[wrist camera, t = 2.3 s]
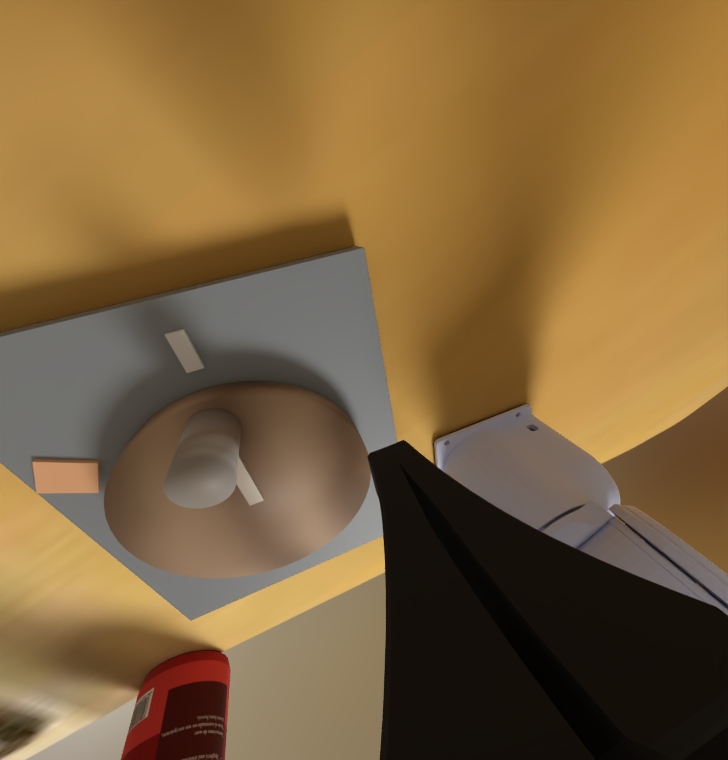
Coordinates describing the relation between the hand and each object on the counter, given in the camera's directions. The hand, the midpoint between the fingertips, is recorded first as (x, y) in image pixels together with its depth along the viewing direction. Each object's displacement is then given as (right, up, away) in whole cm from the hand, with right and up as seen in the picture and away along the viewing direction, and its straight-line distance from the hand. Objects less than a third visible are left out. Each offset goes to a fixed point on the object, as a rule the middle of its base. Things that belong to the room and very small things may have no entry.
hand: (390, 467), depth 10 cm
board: (-8, -3, +10) cm, 13 cm away
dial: (-8, -3, +8) cm, 12 cm away
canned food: (-18, -26, +18) cm, 36 cm away
